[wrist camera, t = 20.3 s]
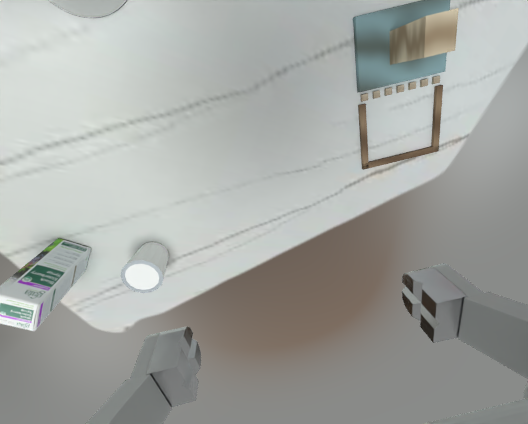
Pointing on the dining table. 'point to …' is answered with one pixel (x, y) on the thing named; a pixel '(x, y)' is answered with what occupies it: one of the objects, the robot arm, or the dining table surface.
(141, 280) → the white cylinder
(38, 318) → the syrup box
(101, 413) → the robot arm
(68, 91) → the dining table surface
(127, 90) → the dining table surface
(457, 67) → the dining table surface
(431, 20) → the birch stub block
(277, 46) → the dining table surface
